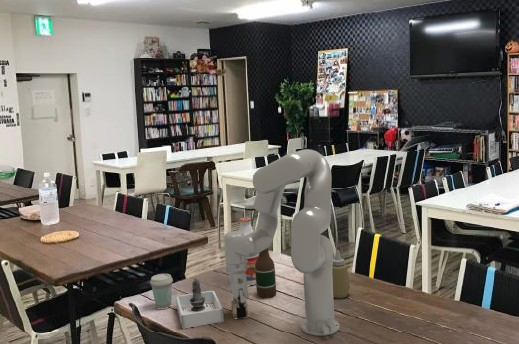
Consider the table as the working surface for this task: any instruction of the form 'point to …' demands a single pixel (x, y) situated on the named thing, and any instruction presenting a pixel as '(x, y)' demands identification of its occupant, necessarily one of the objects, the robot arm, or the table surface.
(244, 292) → the robot arm
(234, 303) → the beech cube
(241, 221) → the fruit juice
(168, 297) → the coffee cup
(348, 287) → the squeeze bottle
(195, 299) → the chess piece
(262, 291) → the beer bottle
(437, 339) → the table surface
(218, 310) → the tote
